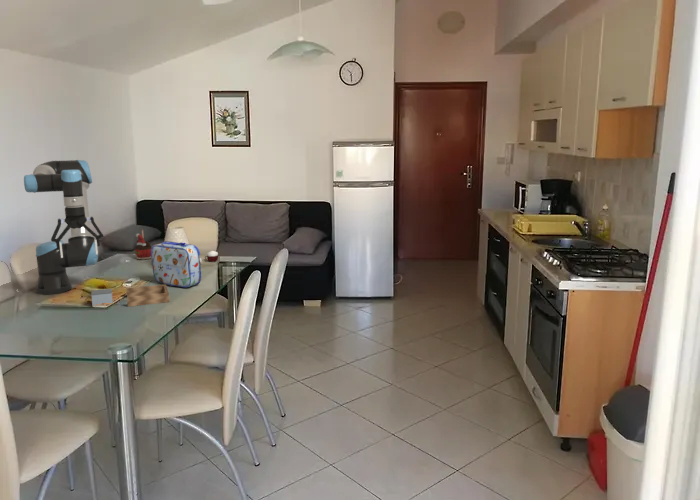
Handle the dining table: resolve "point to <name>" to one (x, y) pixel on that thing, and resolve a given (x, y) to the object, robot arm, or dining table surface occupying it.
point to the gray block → (101, 296)
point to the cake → (142, 248)
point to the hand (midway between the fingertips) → (79, 255)
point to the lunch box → (176, 264)
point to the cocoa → (213, 255)
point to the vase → (176, 235)
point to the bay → (147, 295)
